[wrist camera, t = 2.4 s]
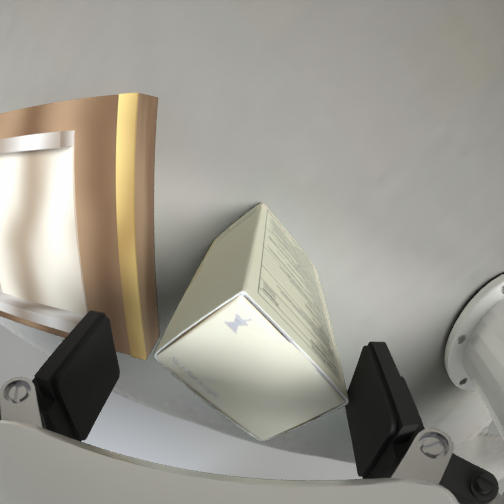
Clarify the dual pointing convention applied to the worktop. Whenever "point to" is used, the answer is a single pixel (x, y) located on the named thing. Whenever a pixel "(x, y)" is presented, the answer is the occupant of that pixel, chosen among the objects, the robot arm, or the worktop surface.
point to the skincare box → (256, 332)
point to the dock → (80, 217)
